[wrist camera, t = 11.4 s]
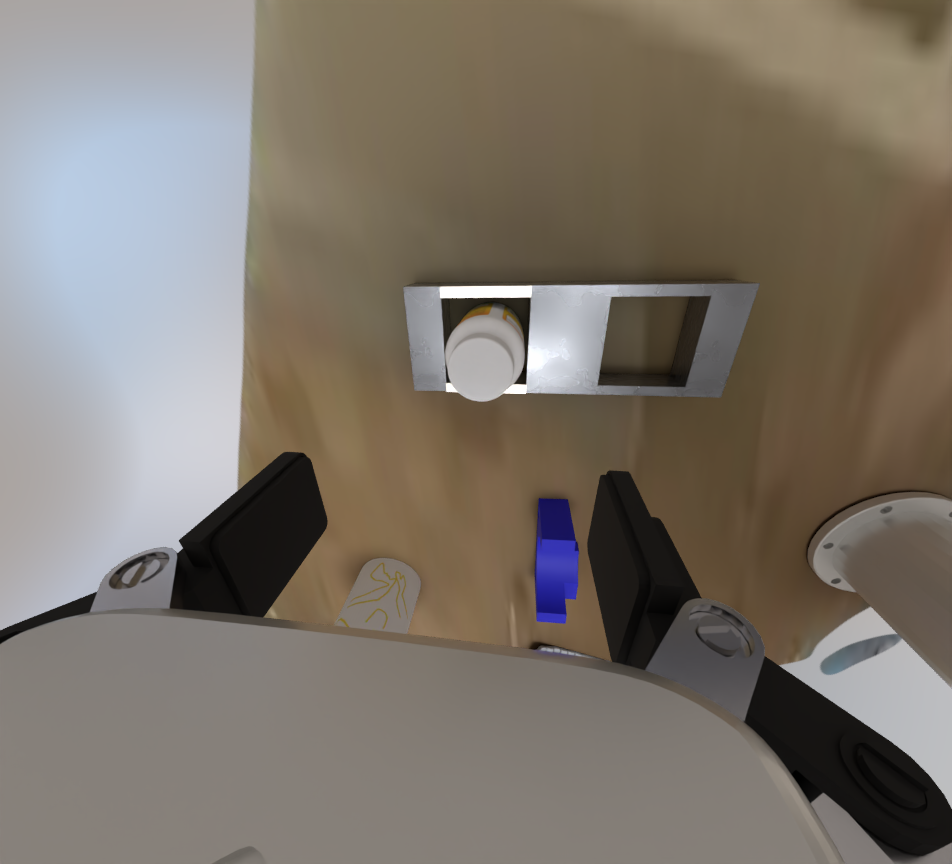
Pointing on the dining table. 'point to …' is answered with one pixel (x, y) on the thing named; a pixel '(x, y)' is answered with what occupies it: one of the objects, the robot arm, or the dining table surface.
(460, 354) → the supplement bottle
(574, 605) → the dining table surface
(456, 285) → the metal bottle holder tray
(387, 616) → the cup
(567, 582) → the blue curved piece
